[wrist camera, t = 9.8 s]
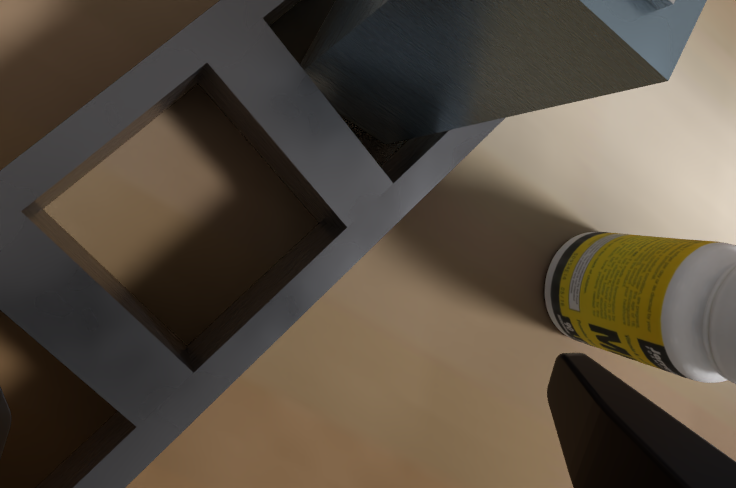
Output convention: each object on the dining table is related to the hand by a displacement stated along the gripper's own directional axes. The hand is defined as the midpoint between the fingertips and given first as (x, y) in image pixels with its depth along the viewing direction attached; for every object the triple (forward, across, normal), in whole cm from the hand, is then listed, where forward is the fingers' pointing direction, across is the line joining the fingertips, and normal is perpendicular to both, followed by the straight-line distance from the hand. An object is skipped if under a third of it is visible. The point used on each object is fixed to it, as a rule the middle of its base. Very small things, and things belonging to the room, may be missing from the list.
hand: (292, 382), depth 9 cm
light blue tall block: (+13, -2, -2) cm, 14 cm away
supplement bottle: (+12, -12, +7) cm, 18 cm away
